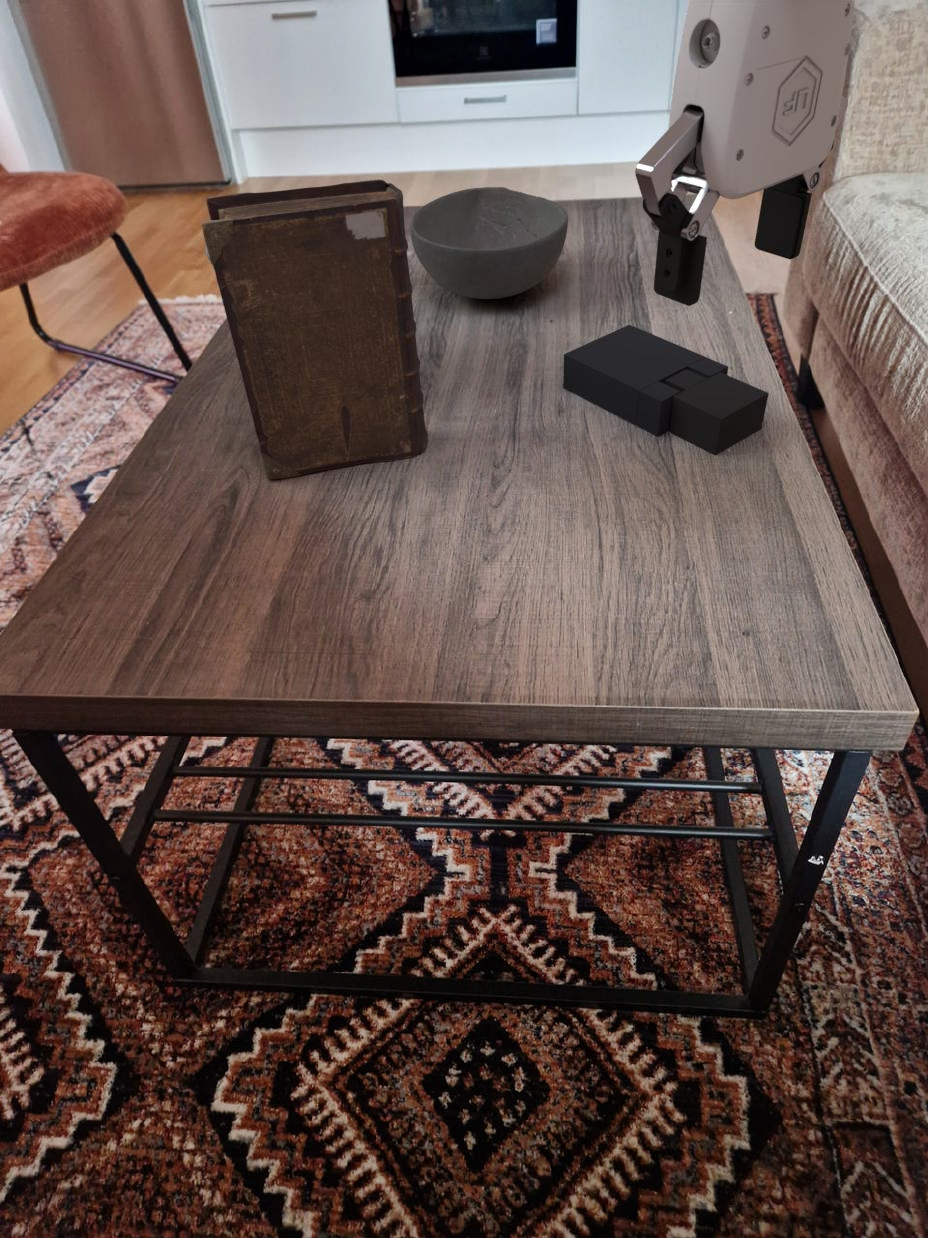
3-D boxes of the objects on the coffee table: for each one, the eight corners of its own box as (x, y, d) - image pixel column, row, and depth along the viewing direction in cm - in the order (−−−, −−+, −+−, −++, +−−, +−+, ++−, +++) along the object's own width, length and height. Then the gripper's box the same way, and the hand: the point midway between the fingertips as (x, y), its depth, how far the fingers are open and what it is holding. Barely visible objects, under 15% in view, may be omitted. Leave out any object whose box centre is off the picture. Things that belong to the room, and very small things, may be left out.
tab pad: (761, 428, 85) (769, 392, 82) (715, 455, 82) (721, 419, 80) (694, 397, 90) (698, 362, 88) (648, 421, 88) (651, 386, 85)
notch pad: (723, 401, 89) (728, 366, 87) (657, 436, 85) (661, 401, 83) (626, 357, 98) (629, 324, 95) (563, 387, 94) (563, 353, 91)
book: (428, 429, 89) (400, 173, 72) (432, 467, 84) (403, 200, 67) (270, 445, 89) (204, 192, 72) (264, 484, 84) (192, 221, 67)
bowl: (395, 318, 109) (385, 239, 102) (443, 257, 123) (437, 183, 116) (548, 329, 104) (548, 246, 97) (580, 264, 118) (582, 187, 111)
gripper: (724, -37, 37) (680, 337, 49) (945, -86, 44) (859, 251, 56) (601, -45, 41) (588, 299, 53) (819, -89, 48) (765, 224, 60)
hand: (727, 274), depth 54 cm, fingers open, 9 cm apart
